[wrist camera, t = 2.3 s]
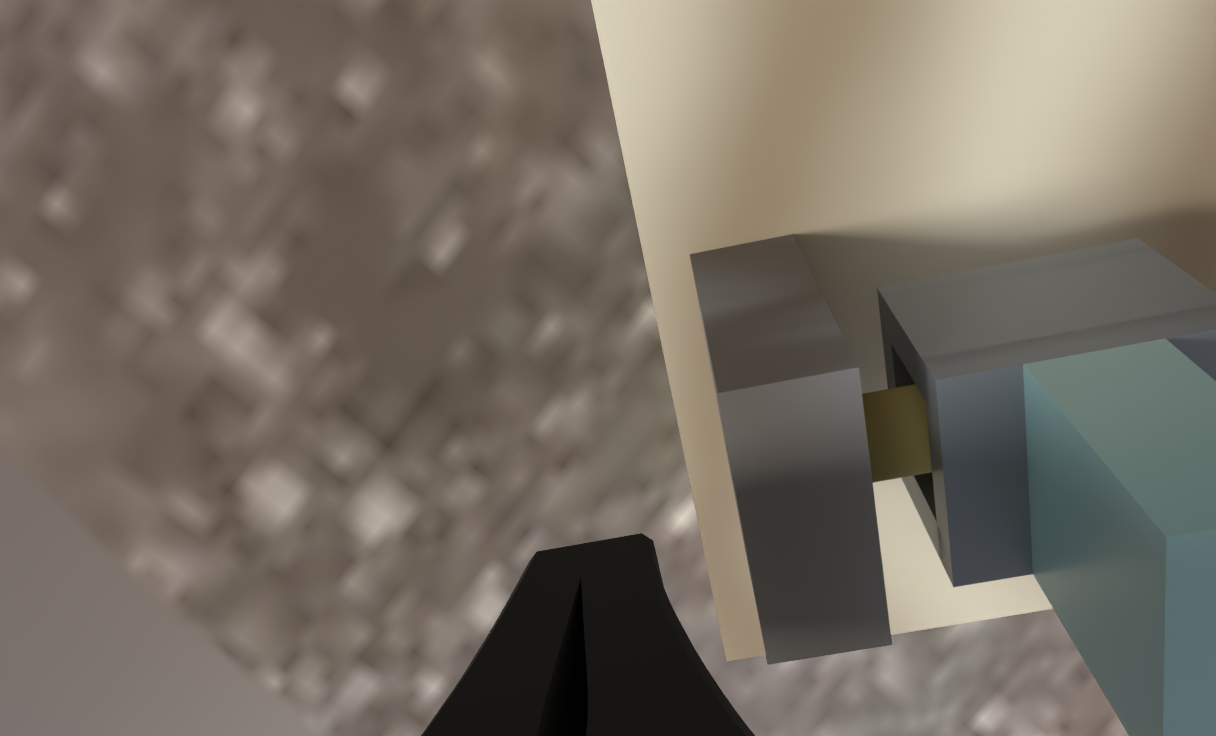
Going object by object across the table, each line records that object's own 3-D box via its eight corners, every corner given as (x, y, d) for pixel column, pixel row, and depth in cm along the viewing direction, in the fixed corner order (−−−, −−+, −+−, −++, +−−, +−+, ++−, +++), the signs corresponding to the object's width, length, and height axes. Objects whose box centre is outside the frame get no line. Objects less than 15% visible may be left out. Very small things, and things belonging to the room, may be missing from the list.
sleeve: (1137, 237, 15) (1485, 484, 9) (1136, 425, 16) (1442, 749, 10) (877, 288, 15) (1047, 556, 9) (896, 467, 16) (1056, 805, 10)
